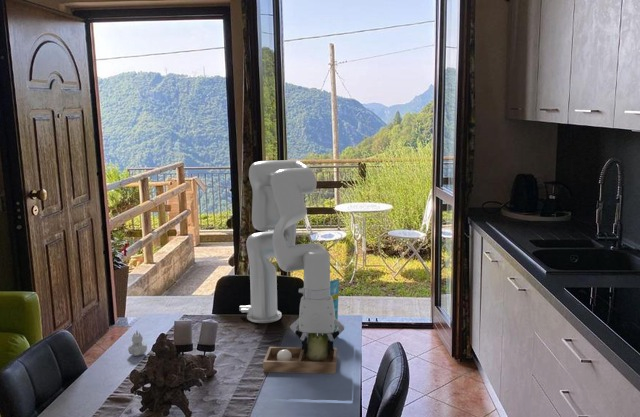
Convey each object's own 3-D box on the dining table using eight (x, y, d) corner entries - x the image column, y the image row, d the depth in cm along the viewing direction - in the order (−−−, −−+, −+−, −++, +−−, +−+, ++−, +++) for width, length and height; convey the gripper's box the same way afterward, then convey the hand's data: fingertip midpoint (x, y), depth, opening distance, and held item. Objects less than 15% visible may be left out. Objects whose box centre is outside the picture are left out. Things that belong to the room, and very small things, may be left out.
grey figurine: (148, 350, 174) (147, 326, 172) (146, 359, 167) (144, 334, 166) (130, 352, 173) (128, 327, 172) (127, 360, 166) (125, 335, 165)
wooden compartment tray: (263, 373, 157) (263, 361, 156) (269, 357, 167) (269, 346, 167) (335, 375, 155) (335, 363, 155) (337, 359, 166) (337, 348, 165)
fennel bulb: (330, 361, 161) (329, 322, 159) (320, 367, 157) (320, 327, 155) (313, 356, 164) (313, 318, 162) (304, 362, 160) (303, 323, 158)
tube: (327, 342, 179) (326, 284, 176) (317, 337, 182) (316, 281, 179) (343, 335, 184) (343, 279, 181) (332, 331, 187) (332, 276, 184)
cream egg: (275, 367, 159) (275, 352, 159) (278, 360, 164) (277, 346, 163) (291, 367, 159) (290, 353, 158) (293, 361, 163) (292, 346, 163)
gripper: (284, 296, 154) (286, 357, 157) (347, 297, 153) (347, 358, 156) (288, 288, 162) (289, 346, 165) (347, 289, 160) (347, 347, 163)
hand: (317, 351), depth 160 cm, fingers closed on fennel bulb, 6 cm apart
